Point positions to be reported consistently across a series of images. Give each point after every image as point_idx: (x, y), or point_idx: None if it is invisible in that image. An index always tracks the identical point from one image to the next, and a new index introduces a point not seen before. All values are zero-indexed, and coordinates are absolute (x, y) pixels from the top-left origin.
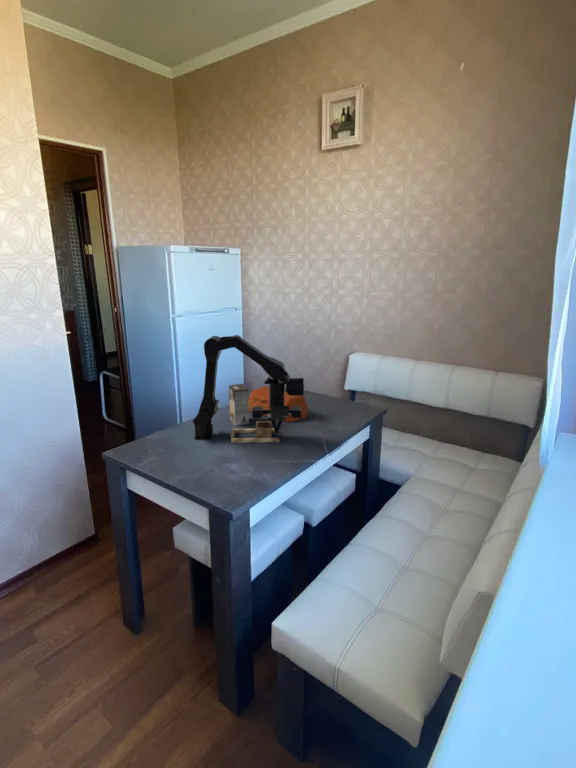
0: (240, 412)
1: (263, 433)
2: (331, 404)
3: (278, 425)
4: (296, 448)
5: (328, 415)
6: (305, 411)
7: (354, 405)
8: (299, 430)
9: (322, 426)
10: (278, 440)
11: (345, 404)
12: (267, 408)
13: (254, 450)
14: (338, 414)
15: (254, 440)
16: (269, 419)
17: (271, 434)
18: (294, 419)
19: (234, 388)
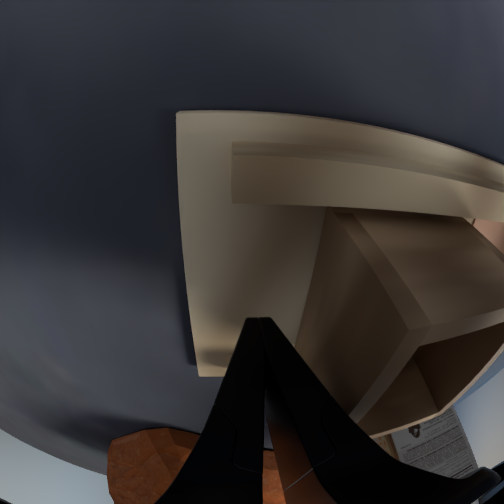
0: (440, 445)
1: (453, 257)
2: (74, 458)
3: (247, 414)
4: (40, 38)
5: (45, 430)
6: (110, 465)
7: (22, 439)
8: (89, 375)
9: (13, 382)
10: (244, 148)
11: (43, 448)
12: (280, 485)
13: (481, 50)
14: (24, 424)
15: (489, 186)
16: (485, 482)
17: (358, 246)
18: (143, 443)
19: None
